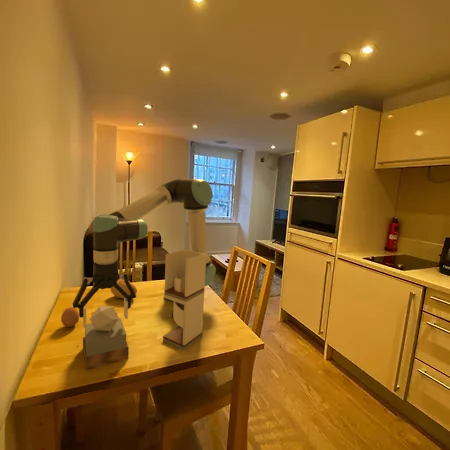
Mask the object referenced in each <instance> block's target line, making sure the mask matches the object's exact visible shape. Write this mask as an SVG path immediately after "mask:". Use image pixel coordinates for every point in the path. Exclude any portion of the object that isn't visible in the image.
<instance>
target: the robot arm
mask: <svg viewBox="0 0 450 450" xmlns="http://www.w3.org/2000/svg"><path fill="white" fill-rule="evenodd" d="M212 199H213V189H212V186H211V185H210V184H209V182H207V180H204V179H199V178H197V179H196V178H195V179H194V178H192V179H191V178H176V179H173V180H171V181H168V182H166V183H164V184H161V185H159V186H158V187H156V189H155V191H152V192H151V193H148V194H147V195H145V196H143V197H141V198H139V199H137V200H135V201H133V202H131V203H129V204H127V205H125V206H123V207H121V208H120V209H118V210H116V211H114V212H112V213H110V214H100V215H96V216H95V217H94V218H93V222H92V232H93V233H92V237H93V238H92V239H93V240H92V241H93V244H92V245H93V255H92V256H93V262H94V263H93V276H92V277H86V276H84V277H83V278H82V283H81V286H80V288H79V290H78V292H77V294H76V296H75V298H74V300H73V302H72V307H73V308H75V309H78V312H79V319H80V318H82V325H83V328H85V327H86V324H87V306H86V305H87V304H88V303H89V301H90V300H91V299H92V298H93V296H94V295H95V293H97V292H98V291H99V290H102V291H103V290H106V289H111V287H113V286H114V287H115V288H116V289H117V290H118V291H119V292H120V293H121V294H122V295H123V296H124V297H125V298H126V299H123V317H124V319H125V320H128V317H129V315H128V314H129V313H128V312H129V309H131V305H132V300H133V299H136V298H137V295H136V294H137V293H136V294H135V292H134V290H133V289H132V287H131V285H130V283H129V276H128V274H127V273H126V272H125V271H124V272H123V273H120V274H119V262H118V260H119V243H123V242H131V241H138V240H141V239H144V238H146V236H147V235H148V231H149V229H148V228H149V227H148V224H147V223H146V221H145V220H143V219H142V218H144V217H146V216H147V215H149V214H151V213H152V212H154V211H156V210H158V209H159V208H161V207H163V206H169V205H171V204H174V203H175V204H176V203H180V204H181V203H182V204H183V209H184V210H185V212H187V213H186V214H187V226H188V240H189V241H188V242H189V250H191V251H196V252H200V253H205V254H206V270H205V287H208V286H209V285H210V284H211V283H212V282H213V280H214V279H215V276H216V272H217V271H216V270H217V269H216V266H215V265H214V264H213V263H211V261H212V260H211V257H209V255H208V244H207V243H208V242H207V223H206V210H207V209H208V208H209V205H210V204H211V202H212ZM118 279H122V280H124V282H125V284H126V286H127V287H128V289H129V291H130V293H131V294H130V295H128V294H127V293H126V292H125V291H124V290H123V289H122V288H121V287H120V286H119V285H118V283H117V281H118ZM91 282H93V285H92V287H91V289H90V290H89V291H88V292H87V294H85V291H86V290H87V287H88V285H90V284H91ZM84 294H85V296H84V297H83V295H84ZM166 300H167V301H170V302H173V303H174V301H172V300H169V299H166Z"/></svg>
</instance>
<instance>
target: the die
mask: <svg viewBox="0 0 450 450" xmlns="http://www.w3.org/2000/svg"><path fill="white" fill-rule="evenodd" d="M119 318H120V317H119V315H118V312H117V311H116V307H114V306H110V305H109V306H105V305H99V306H98V307H97V309H95V311H94V312H93V313H92V314H91V316H90V318H89V321H90V324H91V323H92V325H93V327H94V329H95V331H111V330H112V328H113V327H114V325H115V324H116V322H117V321H118V320H119Z"/></svg>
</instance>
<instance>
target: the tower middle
mask: <svg viewBox="0 0 450 450" xmlns="http://www.w3.org/2000/svg"><path fill="white" fill-rule="evenodd" d="M84 337H85V342H86V352H87V357H88V356H92V355H96V354H101V353H105V352H109V351H113V350H117V349H121V348H125V347H126V342H127V332H126V328H125V327H124V323H123V321H122V318H121V317H119V320H118V321H117V322H116V324H115V325H114V327H113V328H112V330H111V331H95V329H94V327H93V325H92V323H91V322H90V323H86V327H84Z"/></svg>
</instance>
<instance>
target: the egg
mask: <svg viewBox="0 0 450 450" xmlns="http://www.w3.org/2000/svg"><path fill="white" fill-rule="evenodd" d="M79 319H80V316H79V310H77V308H73V306H68V307H67V308H65V310H63V312H62V314H61V317H60V321H61V324H62V325H63V326H64V327H67V328H73V327H74V326H75V325H76V324H77V323H78V322H79Z"/></svg>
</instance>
